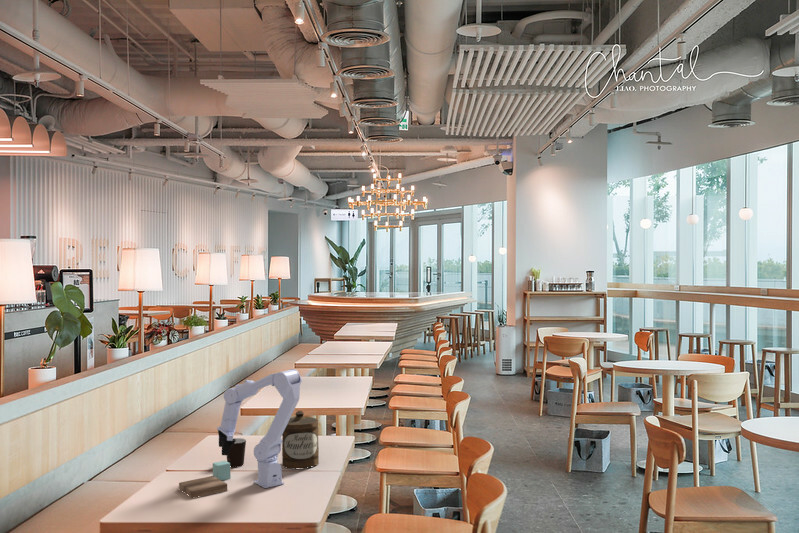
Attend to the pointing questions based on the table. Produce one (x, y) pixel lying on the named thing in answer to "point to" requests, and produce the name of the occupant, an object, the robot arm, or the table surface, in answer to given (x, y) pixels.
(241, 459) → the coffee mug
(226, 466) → the teal block
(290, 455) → the wooden container
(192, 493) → the walnut plinth
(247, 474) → the table surface
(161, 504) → the table surface
